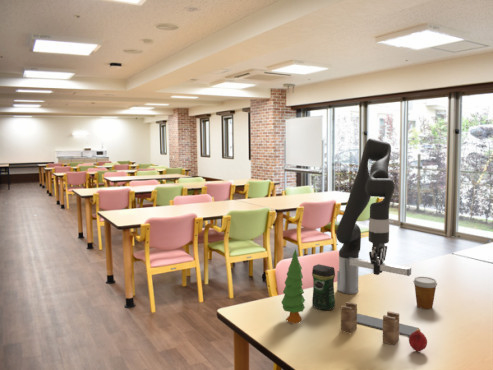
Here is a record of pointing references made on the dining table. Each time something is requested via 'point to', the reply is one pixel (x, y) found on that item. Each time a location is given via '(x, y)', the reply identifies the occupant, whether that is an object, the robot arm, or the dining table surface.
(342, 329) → the post
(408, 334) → the mat
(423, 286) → the disposable coffee cup
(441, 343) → the dining table surface
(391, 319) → the post
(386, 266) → the rail
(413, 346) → the onion
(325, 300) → the coffee jar
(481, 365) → the dining table surface
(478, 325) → the dining table surface
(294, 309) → the decorative tree
